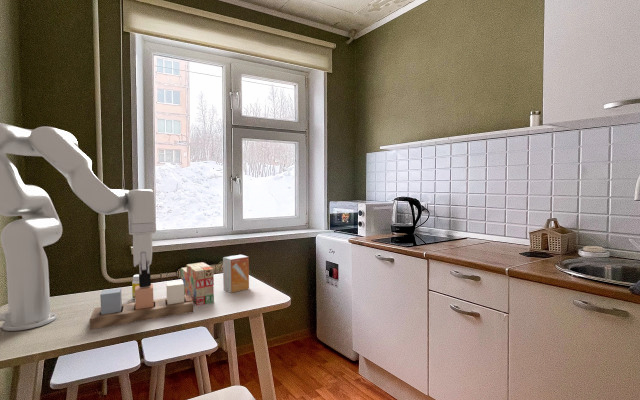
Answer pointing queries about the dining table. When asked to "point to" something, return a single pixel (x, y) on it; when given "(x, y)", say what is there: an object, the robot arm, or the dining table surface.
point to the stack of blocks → (199, 282)
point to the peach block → (144, 297)
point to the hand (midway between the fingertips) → (145, 285)
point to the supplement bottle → (135, 284)
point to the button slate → (111, 301)
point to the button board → (140, 313)
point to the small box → (236, 273)
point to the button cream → (175, 292)
